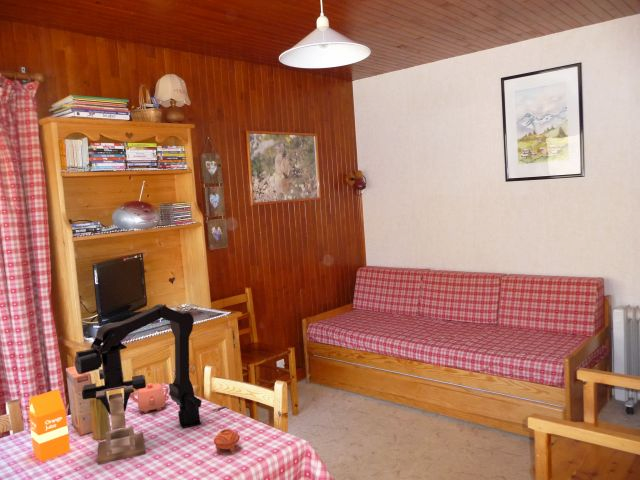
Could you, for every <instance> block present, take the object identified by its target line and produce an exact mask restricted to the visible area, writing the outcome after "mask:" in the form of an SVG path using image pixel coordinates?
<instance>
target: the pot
mask: <svg viewBox="0 0 640 480" xmlns="http://www.w3.org/2000/svg"><path fill="white" fill-rule="evenodd" d="M240 439H241V437H240V435H239V434H238V433H237V432H236V431H234V430H232V429H231V428H226V429H222V430H221V431H219V433H218V434H216V435H215V437H214V439H213V443H214V445H215V449H216V451H217V452H220V449H221V450H230V451H231V453H232V452H233V453H234V452H235V446H236V445H237V444H238V442H239V441H240Z"/></svg>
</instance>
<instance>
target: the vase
mask: <svg viewBox="0 0 640 480" xmlns="http://www.w3.org/2000/svg"><path fill="white" fill-rule="evenodd" d="M89 400H90V409H91V419H92V432H91V433H92V439H93V440H96V441H99V440H106V432H109V431H112V427H111V422H110V421H111V420H110V416H109V415H110V414H109V413H108V411H107V409H106V407H105V406H104V404H103V403H102V402H101V401H100V399H98V400H97V399H96V395H95V397H94V398H90V399H89Z"/></svg>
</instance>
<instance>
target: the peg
mask: <svg viewBox="0 0 640 480" xmlns="http://www.w3.org/2000/svg"><path fill="white" fill-rule="evenodd" d="M108 401H109V405H110V414H109V415H110V421H111V422H110V423H111V431H114V430H118V429H123V428H127V425H126V424H127V422H126V415H125V412H124V395H123V392H120V393H115V394H110V395H108Z"/></svg>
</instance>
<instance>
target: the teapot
mask: <svg viewBox="0 0 640 480" xmlns="http://www.w3.org/2000/svg"><path fill="white" fill-rule="evenodd" d="M163 388H165V389H166V390H165V392H164V389H163ZM136 394H137V398H136V397H135V395H136ZM168 394H169V386H167V385H161V383H159V382H158V383H152V382H149V383H148V382H147V383H146V388H142V389H137V390H136V391H135V390H134V392H133V393H131V394H130V397H129V398H130V399H132V400H133V401H135V402H136V403H137V406H138V409H139V411H140V412H143V414H148V413H150V411H151V410H156V411H158V412H159V411H162V410H163V409H162V408H164V407H165V405H166V401H168V400H169V399H170V397H169V395H168Z"/></svg>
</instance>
